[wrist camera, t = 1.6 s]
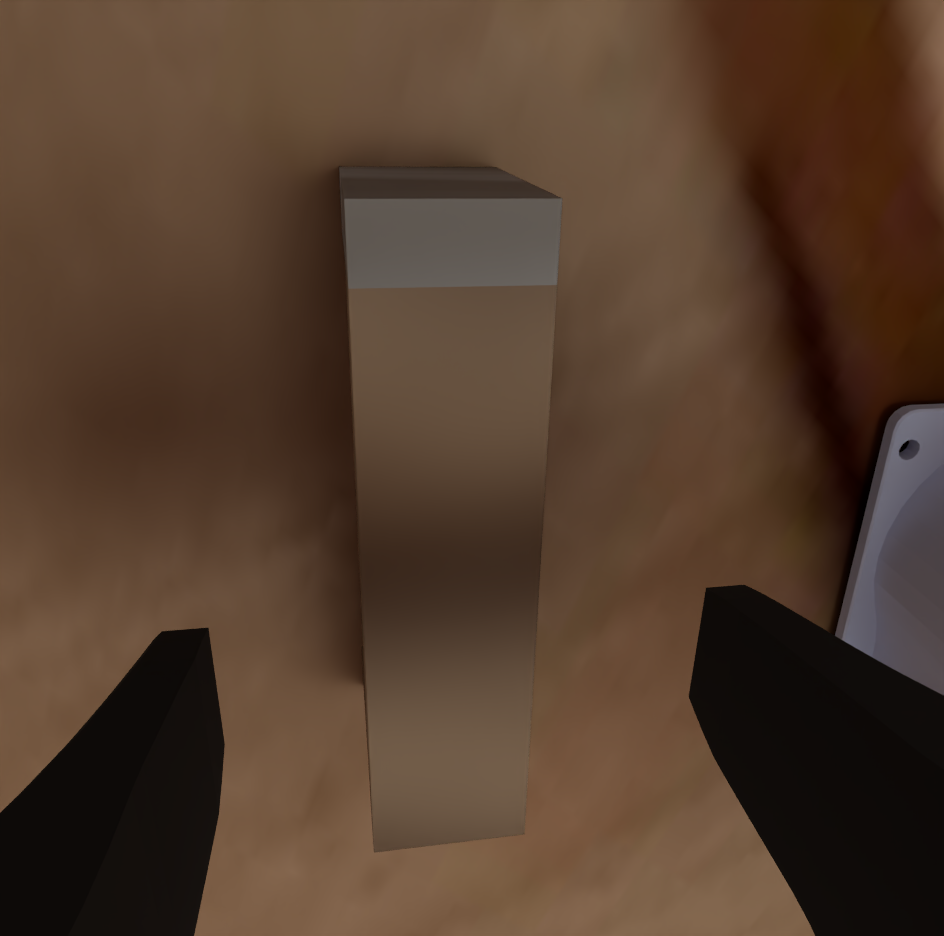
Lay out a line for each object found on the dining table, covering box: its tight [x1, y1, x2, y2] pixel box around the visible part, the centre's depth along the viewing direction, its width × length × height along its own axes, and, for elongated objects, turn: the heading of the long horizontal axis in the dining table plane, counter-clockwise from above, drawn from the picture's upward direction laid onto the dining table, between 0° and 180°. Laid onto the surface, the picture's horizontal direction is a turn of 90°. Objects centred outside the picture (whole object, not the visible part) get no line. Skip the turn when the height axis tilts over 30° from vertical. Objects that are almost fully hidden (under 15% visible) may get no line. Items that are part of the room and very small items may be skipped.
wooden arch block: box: [339, 167, 562, 852], centre depth 16 cm, size 12×3×5 cm, turn 179°
